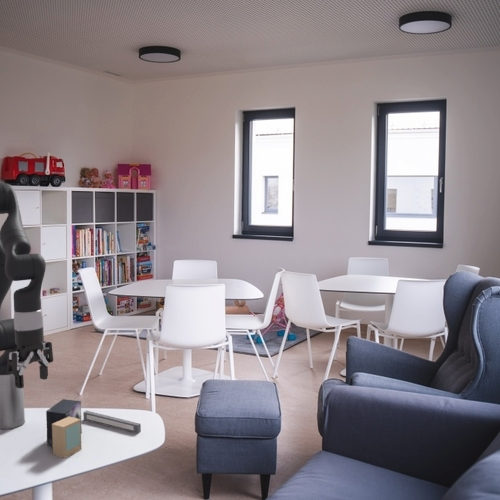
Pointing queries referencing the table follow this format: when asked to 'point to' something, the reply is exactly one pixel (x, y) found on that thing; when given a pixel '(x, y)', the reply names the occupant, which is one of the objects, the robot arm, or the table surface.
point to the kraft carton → (66, 437)
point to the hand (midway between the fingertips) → (32, 383)
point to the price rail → (112, 421)
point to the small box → (61, 415)
